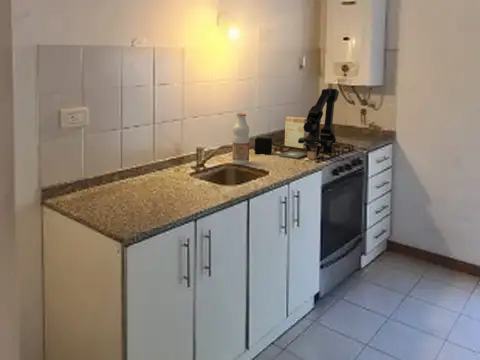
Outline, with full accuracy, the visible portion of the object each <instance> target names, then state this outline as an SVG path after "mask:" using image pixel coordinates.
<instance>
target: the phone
mask: <svg viewBox="0 0 480 360" xmlns="http://www.w3.org/2000/svg"><path fill="white" fill-rule="evenodd" d="M306 153H307V156H306V158H307V159H309V160H316V159H319V158H320V155H321V154H320V153H321V152H320V153H319V155H318V157H317V149H311V151H308V150H307V152H306Z"/></svg>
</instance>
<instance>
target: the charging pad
mask: <svg viewBox="0 0 480 360" xmlns="http://www.w3.org/2000/svg"><path fill="white" fill-rule="evenodd" d="M278 157H279V158H287V159H292V160H293V159H294V160H298V159H301V158H305V157H307V152H298V151H293V150H290V151H287V152H284V153H282V154H279V156H278Z"/></svg>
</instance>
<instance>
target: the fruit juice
mask: <svg viewBox="0 0 480 360" xmlns="http://www.w3.org/2000/svg"><path fill="white" fill-rule="evenodd" d="M246 114H247V113H243V112H242V113H241V112H238V113H237V114H236V117H237V119H236V122H235V124H234V126H233V127H232V132H233V136H232V154H231V155H232V156H231V157H232V160H231V161H232V163H233V164H235V165H248V164H249V162H250V137H249V135H250V127H249V125H248V124H247V120H246V117H247V115H246Z"/></svg>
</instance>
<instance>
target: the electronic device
mask: <svg viewBox="0 0 480 360" xmlns="http://www.w3.org/2000/svg"><path fill="white" fill-rule="evenodd" d="M272 153H273V138H272V137H263V136H262V137H261V136H257V137H255V139H254V154H255V155H260V154H265V155H264V156H270V155H271V154H272Z"/></svg>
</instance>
